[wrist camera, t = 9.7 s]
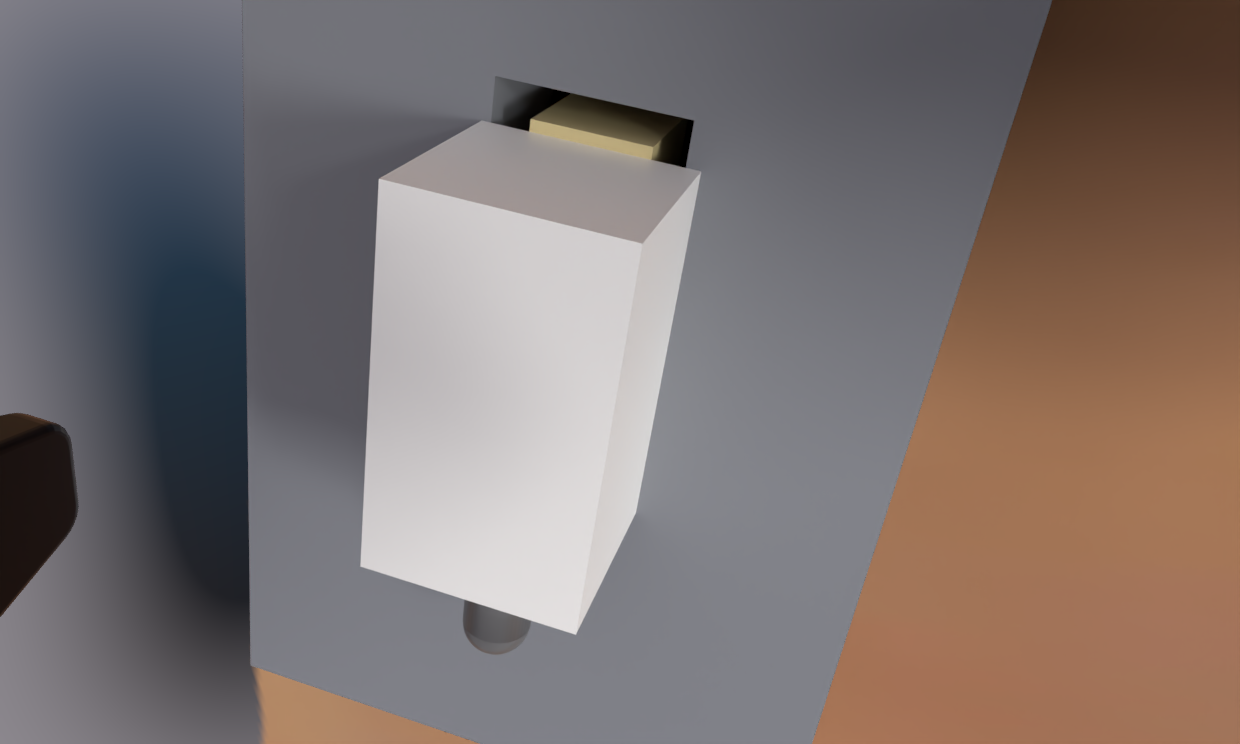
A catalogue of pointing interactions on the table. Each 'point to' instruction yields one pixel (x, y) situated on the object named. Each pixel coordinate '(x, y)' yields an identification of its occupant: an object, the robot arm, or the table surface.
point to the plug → (521, 357)
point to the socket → (697, 350)
